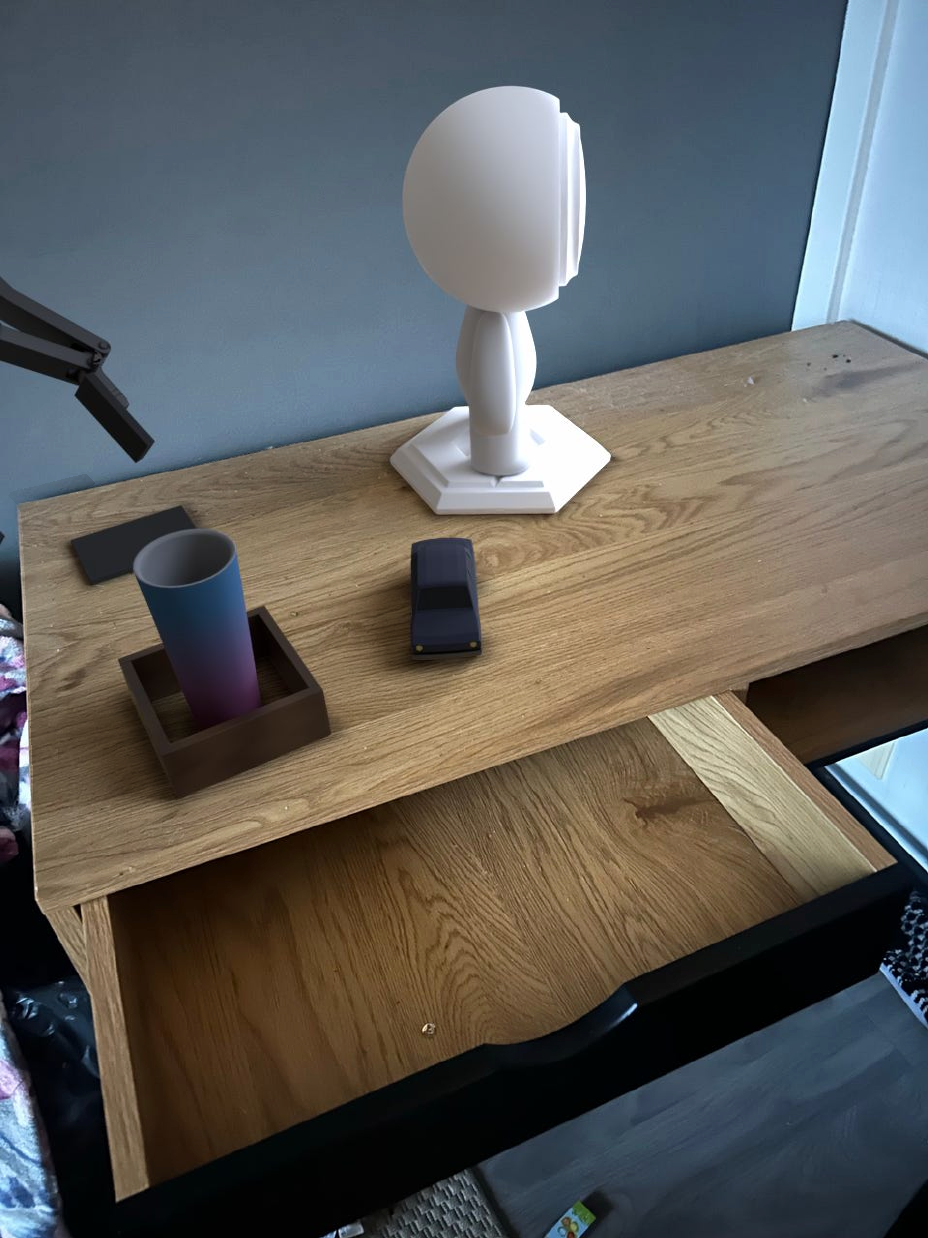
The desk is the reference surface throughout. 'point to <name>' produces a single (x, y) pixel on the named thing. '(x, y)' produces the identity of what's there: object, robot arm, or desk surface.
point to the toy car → (444, 600)
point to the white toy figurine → (498, 298)
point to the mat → (125, 543)
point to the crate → (242, 736)
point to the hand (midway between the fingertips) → (75, 497)
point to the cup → (202, 621)
